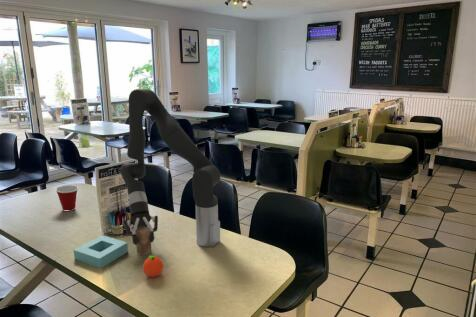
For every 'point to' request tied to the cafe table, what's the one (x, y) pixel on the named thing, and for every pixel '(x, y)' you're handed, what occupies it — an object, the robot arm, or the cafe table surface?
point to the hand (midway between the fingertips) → (144, 242)
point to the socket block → (99, 259)
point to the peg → (143, 240)
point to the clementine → (153, 266)
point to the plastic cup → (67, 196)
